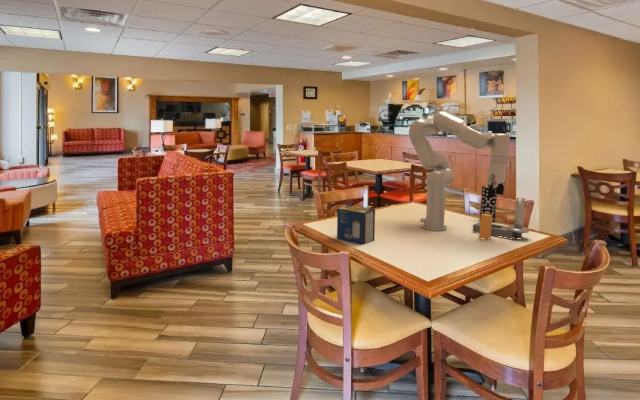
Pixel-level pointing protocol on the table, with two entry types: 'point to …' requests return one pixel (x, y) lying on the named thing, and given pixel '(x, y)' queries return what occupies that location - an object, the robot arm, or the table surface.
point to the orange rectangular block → (485, 226)
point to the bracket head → (496, 230)
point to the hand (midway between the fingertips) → (495, 195)
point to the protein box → (355, 224)
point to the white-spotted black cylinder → (488, 203)
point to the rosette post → (518, 219)
